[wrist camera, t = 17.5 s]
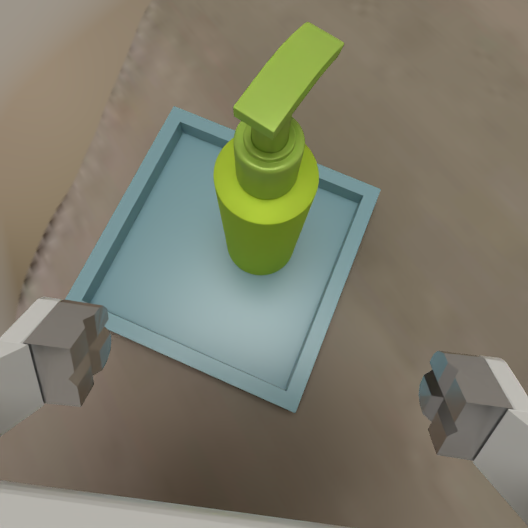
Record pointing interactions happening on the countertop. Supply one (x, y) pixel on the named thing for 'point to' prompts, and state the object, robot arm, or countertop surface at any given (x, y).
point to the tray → (220, 269)
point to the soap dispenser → (272, 156)
